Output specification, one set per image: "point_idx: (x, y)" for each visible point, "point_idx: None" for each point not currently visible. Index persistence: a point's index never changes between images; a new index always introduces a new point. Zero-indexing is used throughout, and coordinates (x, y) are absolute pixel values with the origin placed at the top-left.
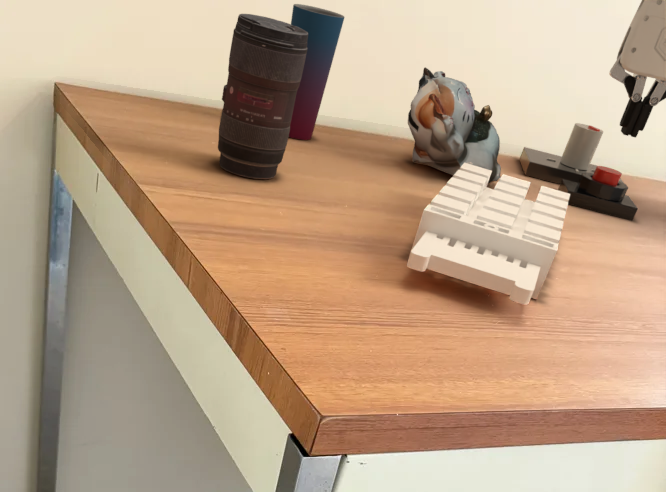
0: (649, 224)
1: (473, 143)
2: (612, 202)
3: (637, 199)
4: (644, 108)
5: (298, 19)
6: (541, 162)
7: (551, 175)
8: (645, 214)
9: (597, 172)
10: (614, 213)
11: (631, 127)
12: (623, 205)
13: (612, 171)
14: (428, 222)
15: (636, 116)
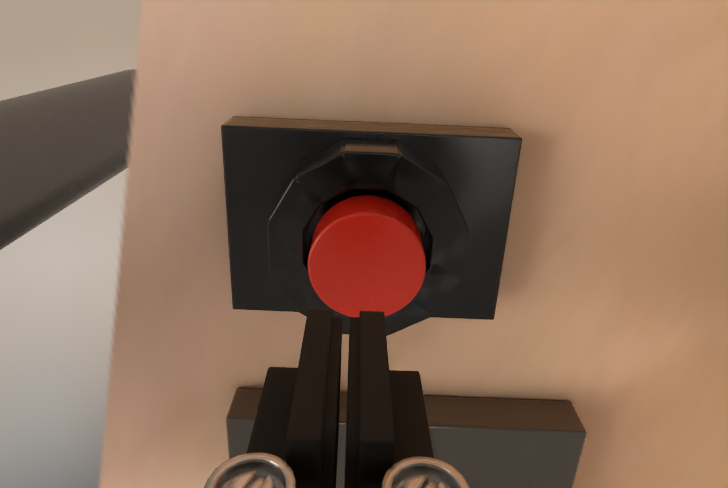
0: (162, 131)
1: None
2: (330, 131)
3: (170, 449)
4: (321, 420)
5: None
6: (534, 459)
7: (490, 411)
8: (162, 274)
9: (420, 239)
10: (308, 120)
11: (362, 332)
12: (283, 126)
13: (356, 250)
14: None
15: (356, 383)
